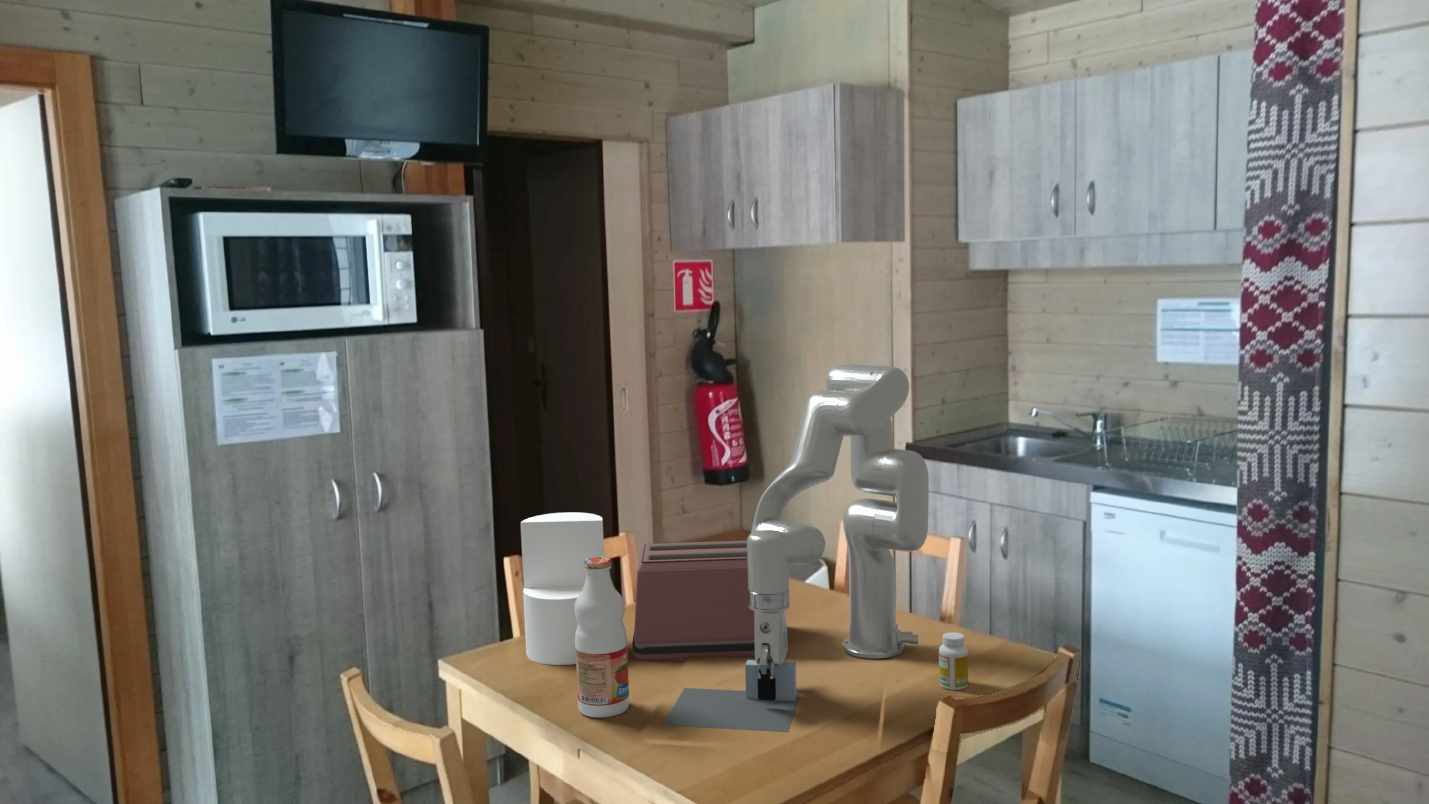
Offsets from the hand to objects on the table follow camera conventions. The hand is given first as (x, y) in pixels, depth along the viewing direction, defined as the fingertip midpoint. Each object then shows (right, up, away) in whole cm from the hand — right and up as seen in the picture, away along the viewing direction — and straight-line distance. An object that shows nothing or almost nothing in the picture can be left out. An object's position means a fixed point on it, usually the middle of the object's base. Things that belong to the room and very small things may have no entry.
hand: (770, 688), depth 198 cm
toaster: (-11, +1, +33) cm, 35 cm away
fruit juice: (-31, -4, 0) cm, 31 cm away
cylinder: (-42, 0, +31) cm, 52 cm away
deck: (0, -2, 0) cm, 2 cm away
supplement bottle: (+35, -1, +6) cm, 35 cm away
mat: (-7, -3, -4) cm, 9 cm away
